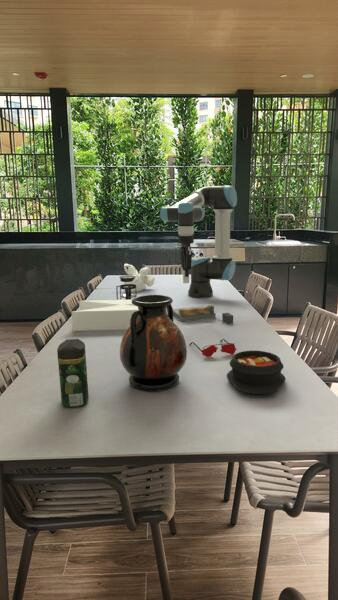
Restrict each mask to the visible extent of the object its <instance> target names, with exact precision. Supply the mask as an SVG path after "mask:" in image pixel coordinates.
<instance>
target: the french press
mask: <svg viewBox="0 0 338 600" xmlns="http://www.w3.org/2000/svg"><path fill="white" fill-rule="evenodd" d="M129 265H130V264H128V265H126V266H124V265H123V268H124V267H126V269H127V273H126V275H121V276H119V278H120V279H119V280H120V282H121V283H122V282H123V283H122V284H120V285H116V287H115V289H116V300H122V299H124V300H130V299H134V298H135V297H138V296H137V294H136V293H135V294H134V293H132V292H131V289H136V285H135V284H124V282H132V281H133V280H134V279H135V278H136V276H132V275H130V274H128V267H131V266H129ZM126 286H128V287H126ZM131 286H132V287H131ZM118 288H119V292H118ZM122 290H124V291H125V292H124V294H122ZM119 295H120V296H119Z"/></svg>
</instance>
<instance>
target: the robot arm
mask: <svg viewBox="0 0 338 600" xmlns="http://www.w3.org/2000/svg"><path fill="white" fill-rule="evenodd" d="M237 203H238V195H237V190H236V188H235V187H234V186H233V185H226V184H224V185H207V186H203V187H200V188H198V189H196V190H194V191H192V192H191V193H190V194H189V196H187V197H185V198H183V199H181V200H180V201H178V202H175V203H174V204H172V205H169V206H167V205H166V206H162V207H161V209H160V212H159V215H160V220H162V221H163V222H168V223H170V222H173V223H175V222H177V224H178V225H177V229H176V230H177V231H178V232H177V233H178V236H177V237H178V238H177V239H178V240H177V241H178V242H177V243H179V244H181V247H180V248H179V253H180V266H181V268H182V284H190V285H189V289H188V292H187V296H189V297H190V298H197V299H198V298H200V299H201V298H203V299H204V298H205V299H206V298H211V297H212V296H214V291H213V287H212V285H211V280H217V281H231V280H232V278H233V277H234V274H235V272H236V268H237V267H236V266H237V265H236V261H235V260H233V256H231V254H230V250H231V248H230V247H231V213H232V212H233V211H234V208H235V207H236V206H237ZM203 207H212V211H213V212H214V214H215V224H214V225H215V229H214V230H215V232H214V255H213V256H212V258H211V257H210V256H202V257H196V258H193V253H194V251H193V249H192V246H191V244H193V243H194V242H195V241H194V240H195V238H194V237H195V236H194V234H195V226H194V225H195V224H194V223H195V222H196V223H198V222H200V221H203V220H204V217H205V216H206V215H205V214H206V213H205V209H204V208H203Z"/></svg>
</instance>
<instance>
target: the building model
mask: <svg viewBox="0 0 338 600" xmlns="http://www.w3.org/2000/svg"><path fill="white" fill-rule="evenodd" d="M132 299H133V298H131V299H130V300H125V299H121V300H120V299H118V300H117V299H103V300H102V299H100V300H99V299H98V300H97V299H96V300H79V301H78V304H79V310H76V311H75V310H73V311H71V323H72V324H71V325H72V332H75V331H80V332H82V331H113V330H114V331H117V330H118V331H119V330H127V328H128V327H129V326H130V319H131V316H132V314H133V312H135V311H138V307H137V306H135V305H133V304H132V302H131V301H132ZM166 313H167V315H168V312H167V307H166Z"/></svg>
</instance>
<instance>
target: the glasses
mask: <svg viewBox="0 0 338 600" xmlns="http://www.w3.org/2000/svg"><path fill="white" fill-rule="evenodd" d="M222 341H223V342H225V343H222ZM188 345H189V346H191V345H194V346H195V347H196V348H197V349H198V350H199V351H200V352H201V354H202V355H203V356H205V357H206V358H210V357H212V356H213V354H214V353H216V354H217V352H218V351H217V350H218V349H219V347H217V346H220V347H221V349H220V352H222V353H225V354H230V355H235V353H236V351H237V348H236V345H235V343H232V342H231V343H229V341H227V340H226V339H224V338H223V339H220V343H219V344H217V346H216V345H215V344H211V345H205V346H203V348H200V347H199V345H197V344H196V343H195V342H193V341H192V342H190V344H188Z"/></svg>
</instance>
